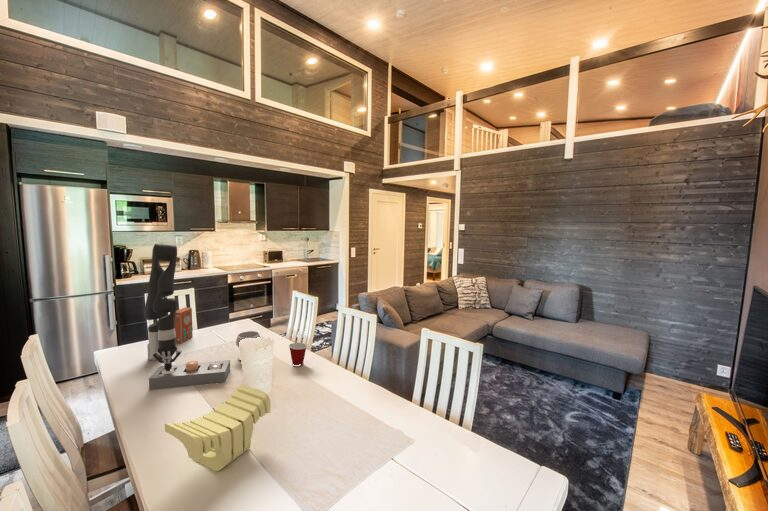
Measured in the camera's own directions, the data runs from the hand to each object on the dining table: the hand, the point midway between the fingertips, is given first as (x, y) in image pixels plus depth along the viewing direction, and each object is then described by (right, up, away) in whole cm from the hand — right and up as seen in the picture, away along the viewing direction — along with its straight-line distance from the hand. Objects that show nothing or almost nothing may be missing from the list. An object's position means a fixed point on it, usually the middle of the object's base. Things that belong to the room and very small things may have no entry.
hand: (168, 369), depth 169 cm
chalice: (+28, -4, +33) cm, 43 cm away
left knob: (0, -5, +1) cm, 5 cm away
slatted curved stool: (+53, -13, -50) cm, 74 cm away
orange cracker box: (-29, 0, +60) cm, 66 cm away
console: (+10, -6, +4) cm, 13 cm away
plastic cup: (+60, -6, +25) cm, 66 cm away
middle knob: (+10, -2, +3) cm, 11 cm away
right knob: (+21, -5, +7) cm, 22 cm away
